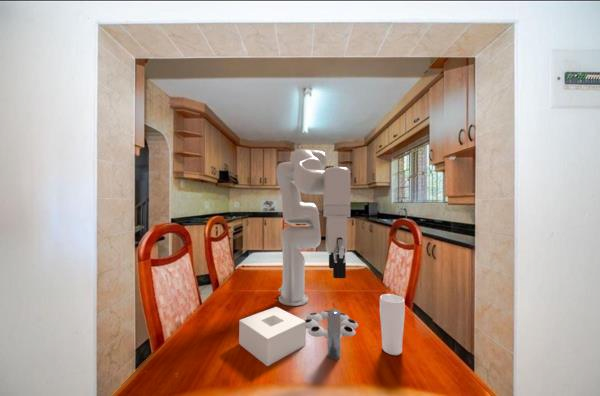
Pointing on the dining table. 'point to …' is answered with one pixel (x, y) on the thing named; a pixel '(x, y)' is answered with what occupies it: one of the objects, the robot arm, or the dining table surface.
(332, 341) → the pin
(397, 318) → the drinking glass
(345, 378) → the dining table surface
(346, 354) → the dining table surface
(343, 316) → the round palette
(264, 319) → the socket block
